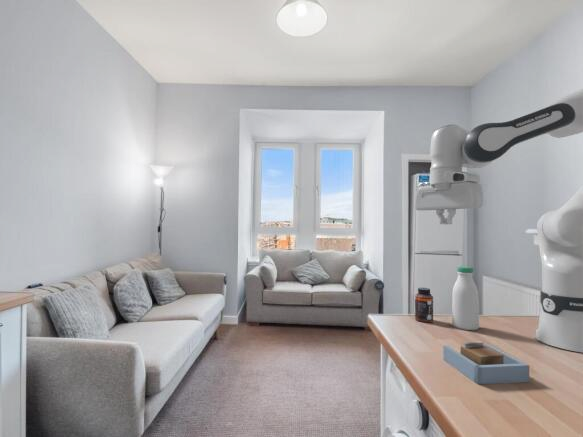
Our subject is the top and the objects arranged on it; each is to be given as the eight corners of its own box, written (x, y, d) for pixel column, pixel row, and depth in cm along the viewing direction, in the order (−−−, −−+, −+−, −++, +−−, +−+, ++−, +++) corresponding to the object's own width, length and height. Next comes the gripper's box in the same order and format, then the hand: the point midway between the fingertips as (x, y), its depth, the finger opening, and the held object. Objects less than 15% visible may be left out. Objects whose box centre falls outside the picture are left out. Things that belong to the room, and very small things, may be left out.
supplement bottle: (435, 323, 105) (435, 290, 105) (416, 322, 106) (416, 289, 106) (430, 318, 111) (430, 287, 111) (413, 317, 112) (413, 286, 112)
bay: (487, 357, 78) (487, 343, 78) (529, 381, 66) (529, 365, 66) (443, 359, 76) (443, 345, 76) (477, 384, 64) (477, 367, 65)
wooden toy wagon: (483, 363, 74) (483, 340, 75) (505, 375, 69) (505, 350, 69) (458, 365, 73) (458, 342, 73) (478, 377, 67) (478, 352, 67)
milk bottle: (483, 331, 97) (482, 268, 98) (457, 330, 98) (456, 268, 99) (473, 324, 105) (472, 265, 105) (449, 322, 106) (448, 265, 107)
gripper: (410, 182, 101) (410, 224, 101) (473, 173, 83) (473, 224, 83) (422, 184, 104) (422, 224, 104) (485, 175, 87) (486, 224, 86)
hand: (445, 224), depth 93 cm, fingers closed
